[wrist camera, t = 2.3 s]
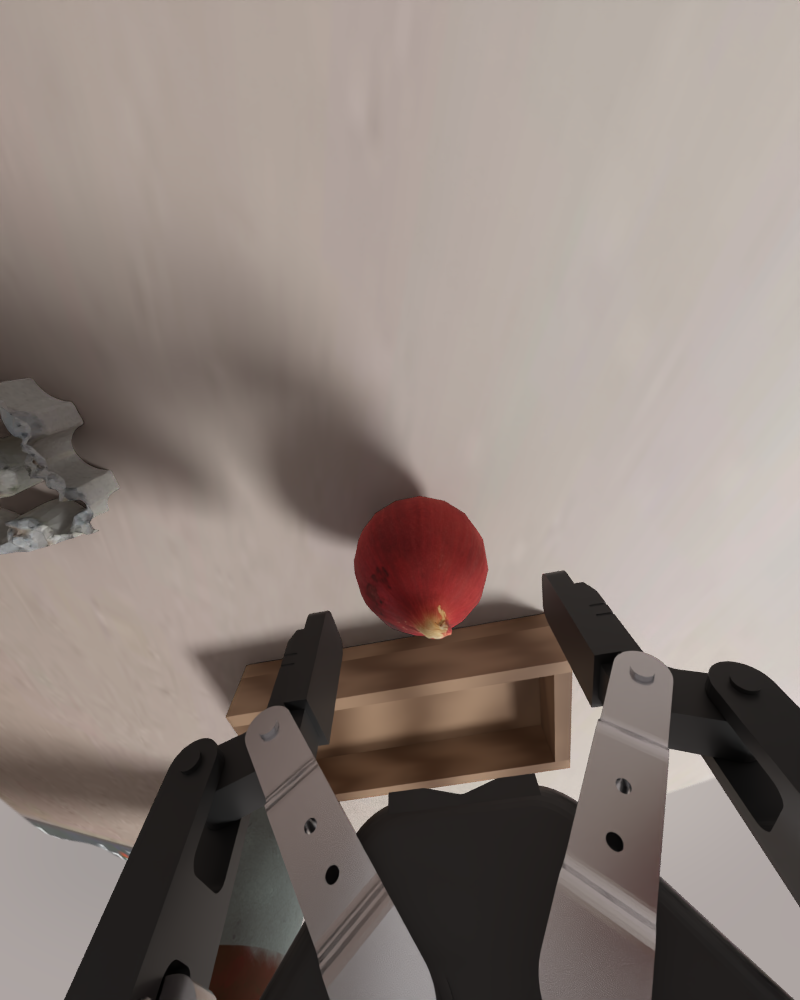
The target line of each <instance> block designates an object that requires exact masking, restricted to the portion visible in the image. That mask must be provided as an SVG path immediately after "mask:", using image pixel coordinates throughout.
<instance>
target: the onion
mask: <svg viewBox="0 0 800 1000" xmlns="http://www.w3.org/2000/svg"><path fill="white" fill-rule="evenodd" d="M354 569H355V575H356V579H357V582H358V585H359V588H360V592H361V595H362V597H363V599H364V601H365V603H366V604H367V606H368V607H369V608H370V609H371V610H372V611H373V612H374V613H375V614H376V615H377V616H378V617H379V618H380V619H381V620H382V621H383V622H384V623H385V624H386V625H388V626H390V627H391V628H393V629H396V630H398V631H401V632H405V633H408V634H412V635H415V636H426V637H427V638H430V639H442V638H444V637H445V636H448V635H451V634H452V628H453V627H454V626H456V625H457V624H459V623H460V622H462V621H463V620H464V619H465V618H466V617H467V615H468V614H469V613H470V612H471V611H472V610H473V608H474V607H475V606H476V605H477V604H478V603H479V601H480V599H481V596H482V592H483V588H484V585H485V581H486V577H487V572H488V566H487V559H486V554H485V548H484V543H483V539H482V537H481V536H480V534H479V533H478V531H477V530H476V528H475V527H474V525H473V524H472V523H471V521H470V520H469V519H468V517H467V516H466V515H465V513H463V512H462V511H460V510H458V509H457V508H455V507H454V506H452V505H450V504H449V503H447V502H445V501H442V500H437V499H432V498H427V497H422V496H417V497H413V498H408V499H403V500H398V501H395V502H393V503H391V504H390V505H388V506H386V507H385V508H383V509H382V510H380V511H378V512H377V513H375V515H374V516H373V517H372V519H371V520H370V521H369V522H368V524H367V525H366V526H365V528H364V529H363V531H362V533H361V535H360V538H359V540H358V545H357V550H356V554H355V559H354Z"/></svg>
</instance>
